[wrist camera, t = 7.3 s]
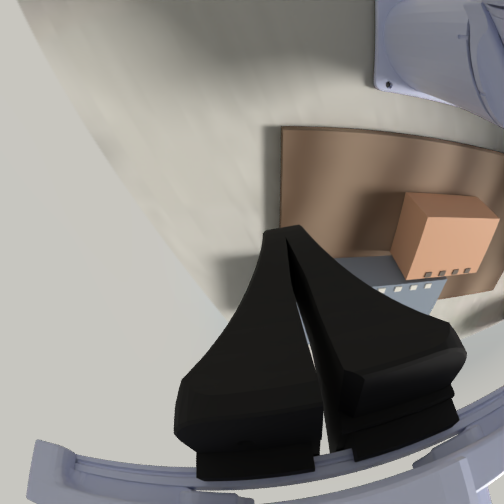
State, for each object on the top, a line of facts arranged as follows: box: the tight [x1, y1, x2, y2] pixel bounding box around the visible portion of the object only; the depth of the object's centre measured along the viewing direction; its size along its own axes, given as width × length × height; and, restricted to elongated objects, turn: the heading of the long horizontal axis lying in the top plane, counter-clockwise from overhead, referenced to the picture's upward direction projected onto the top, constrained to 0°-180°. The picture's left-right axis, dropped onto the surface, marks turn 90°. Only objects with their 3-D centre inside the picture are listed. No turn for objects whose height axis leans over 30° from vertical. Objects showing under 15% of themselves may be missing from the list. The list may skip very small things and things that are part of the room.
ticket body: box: [297, 255, 447, 344], centre depth 24 cm, size 14×7×4 cm, turn 92°
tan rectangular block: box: [390, 192, 500, 280], centre depth 20 cm, size 8×6×4 cm
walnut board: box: [279, 126, 504, 300], centre depth 23 cm, size 28×17×1 cm, turn 92°
